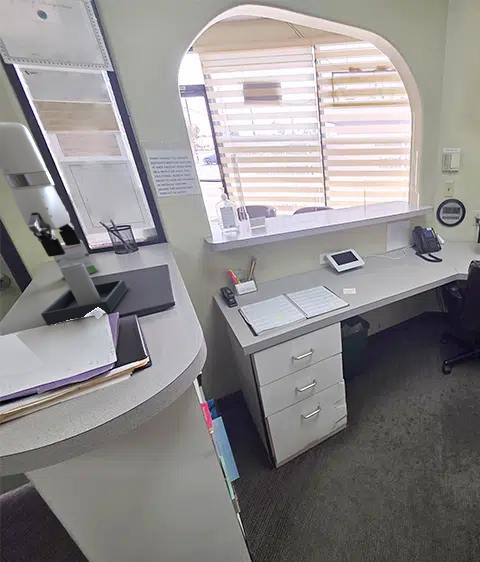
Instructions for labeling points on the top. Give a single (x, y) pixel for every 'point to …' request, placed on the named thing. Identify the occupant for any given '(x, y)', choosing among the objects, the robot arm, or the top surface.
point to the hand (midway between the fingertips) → (66, 249)
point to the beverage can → (80, 283)
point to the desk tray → (70, 308)
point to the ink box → (75, 256)
